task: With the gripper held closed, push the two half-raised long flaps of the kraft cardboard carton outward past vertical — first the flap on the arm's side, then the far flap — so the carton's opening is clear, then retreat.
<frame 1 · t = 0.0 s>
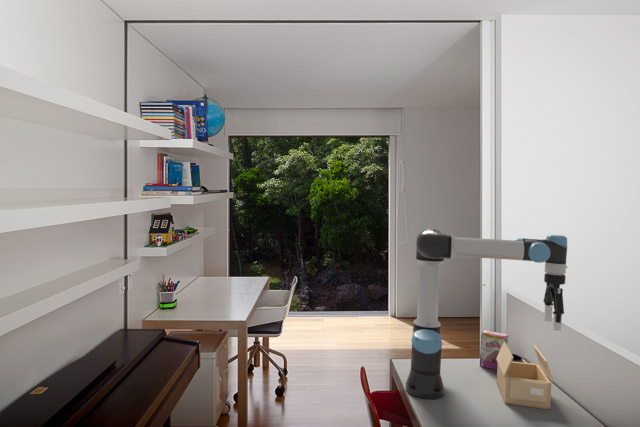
hand: (552, 325, 182), 28 cm above the table, fingers open, 13 cm apart
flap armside: (504, 358, 181), point 14 cm above the table, hinge at 70.0°
candy bar box: (492, 368, 209), on the table
carton: (521, 395, 180), on the table
mug: (512, 376, 200), on the table
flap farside: (542, 362, 178), point 14 cm above the table, hinge at 70.0°
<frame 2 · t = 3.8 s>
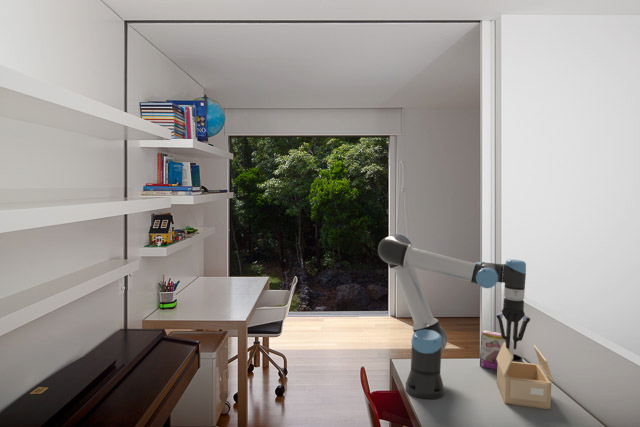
hand: (510, 356, 181), 15 cm above the table, fingers closed
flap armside: (504, 358, 181), point 14 cm above the table, hinge at 70.0°, touching gripper
everything else where it was.
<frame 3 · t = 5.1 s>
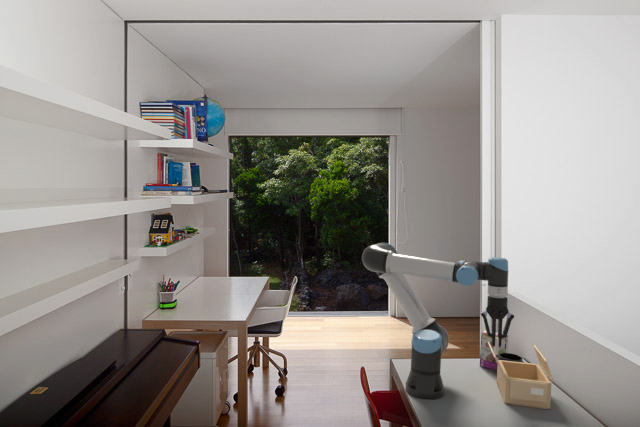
hand: (496, 353, 182), 16 cm above the table, fingers closed
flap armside: (495, 358, 182), point 14 cm above the table, hinge at 117.9°, touching gripper
everything else where it was.
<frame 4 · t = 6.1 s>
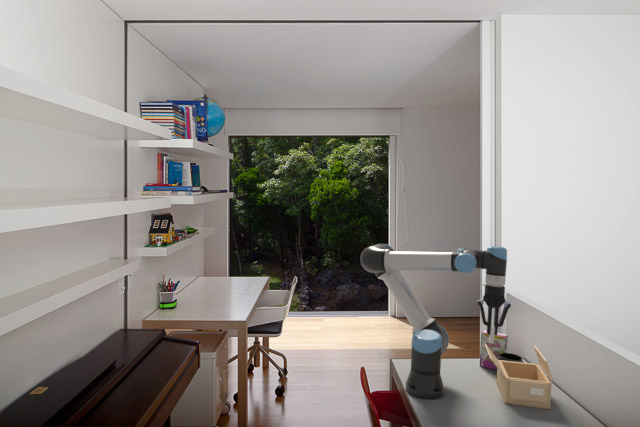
hand: (491, 342, 182), 20 cm above the table, fingers closed
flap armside: (494, 359, 182), point 13 cm above the table, hinge at 129.1°
everything else where it was.
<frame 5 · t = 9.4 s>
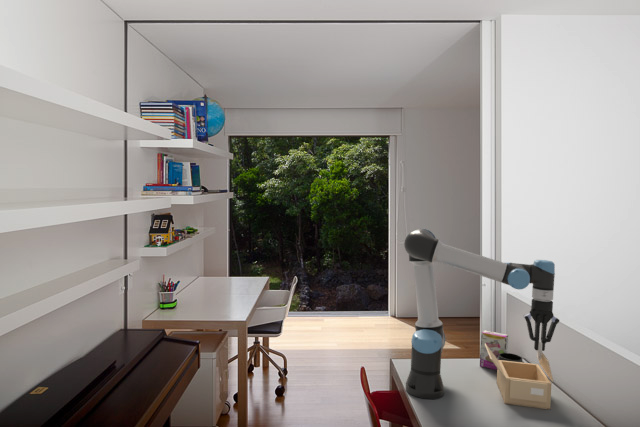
hand: (538, 358, 178), 16 cm above the table, fingers closed
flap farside: (543, 362, 178), point 14 cm above the table, hinge at 74.6°, touching gripper
everything else where it was.
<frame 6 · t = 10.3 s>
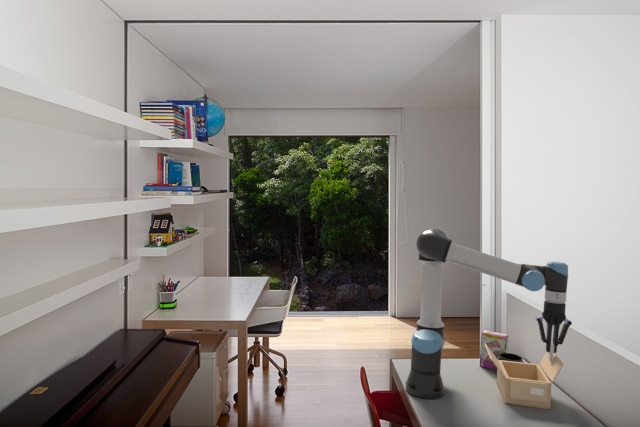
hand: (550, 360, 177), 15 cm above the table, fingers closed
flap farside: (551, 363, 177), point 14 cm above the table, hinge at 113.8°, touching gripper
everything else where it was.
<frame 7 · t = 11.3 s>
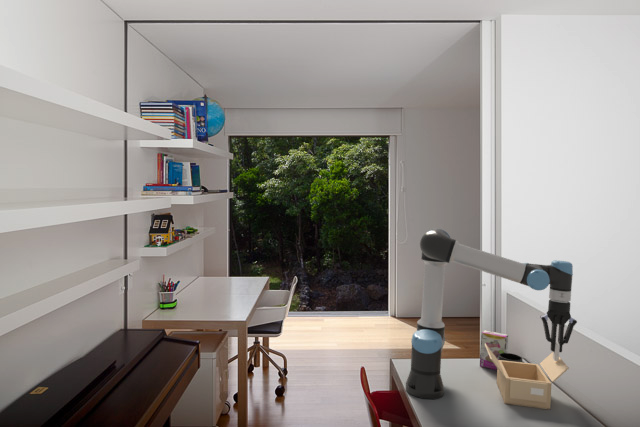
hand: (555, 359, 177), 16 cm above the table, fingers closed
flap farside: (553, 365, 177), point 13 cm above the table, hinge at 130.3°
everything else where it was.
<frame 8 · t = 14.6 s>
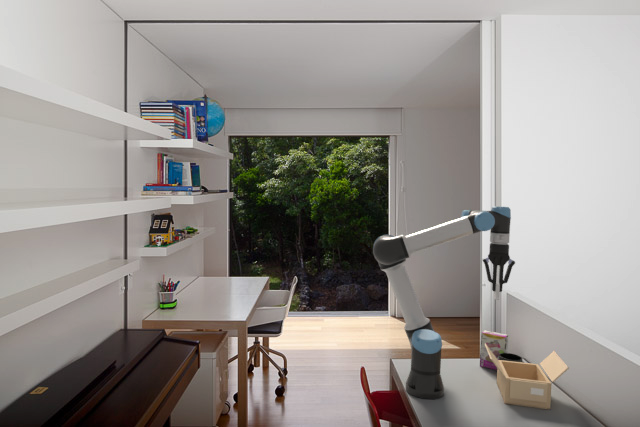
hand: (496, 299, 189), 36 cm above the table, fingers closed
nothing on the table moved.
at the end: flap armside at +129° (first picture: +70°); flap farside at +130° (first picture: +70°) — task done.
